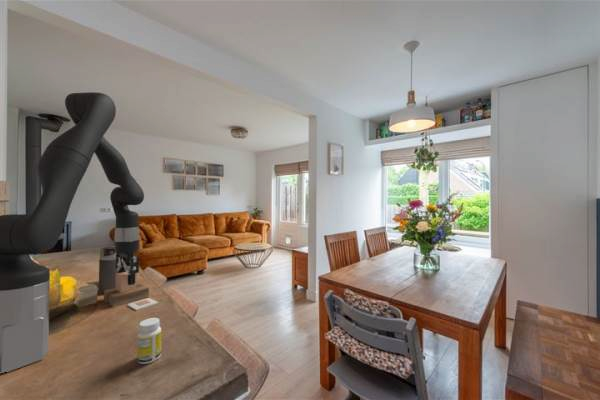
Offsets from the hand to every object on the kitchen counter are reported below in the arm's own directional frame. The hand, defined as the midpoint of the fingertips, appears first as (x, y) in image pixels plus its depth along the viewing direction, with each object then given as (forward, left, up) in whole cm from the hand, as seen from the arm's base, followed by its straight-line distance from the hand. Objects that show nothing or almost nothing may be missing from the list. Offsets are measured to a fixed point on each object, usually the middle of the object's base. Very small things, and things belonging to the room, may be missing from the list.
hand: (126, 282), depth 91 cm
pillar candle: (+15, -1, -6) cm, 16 cm away
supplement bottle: (-45, +12, -6) cm, 47 cm away
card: (-11, -1, -6) cm, 13 cm away
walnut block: (0, 0, -7) cm, 7 cm away
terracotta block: (0, 0, -3) cm, 3 cm away
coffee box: (+27, -5, -6) cm, 28 cm away
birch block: (+7, +10, -6) cm, 14 cm away
